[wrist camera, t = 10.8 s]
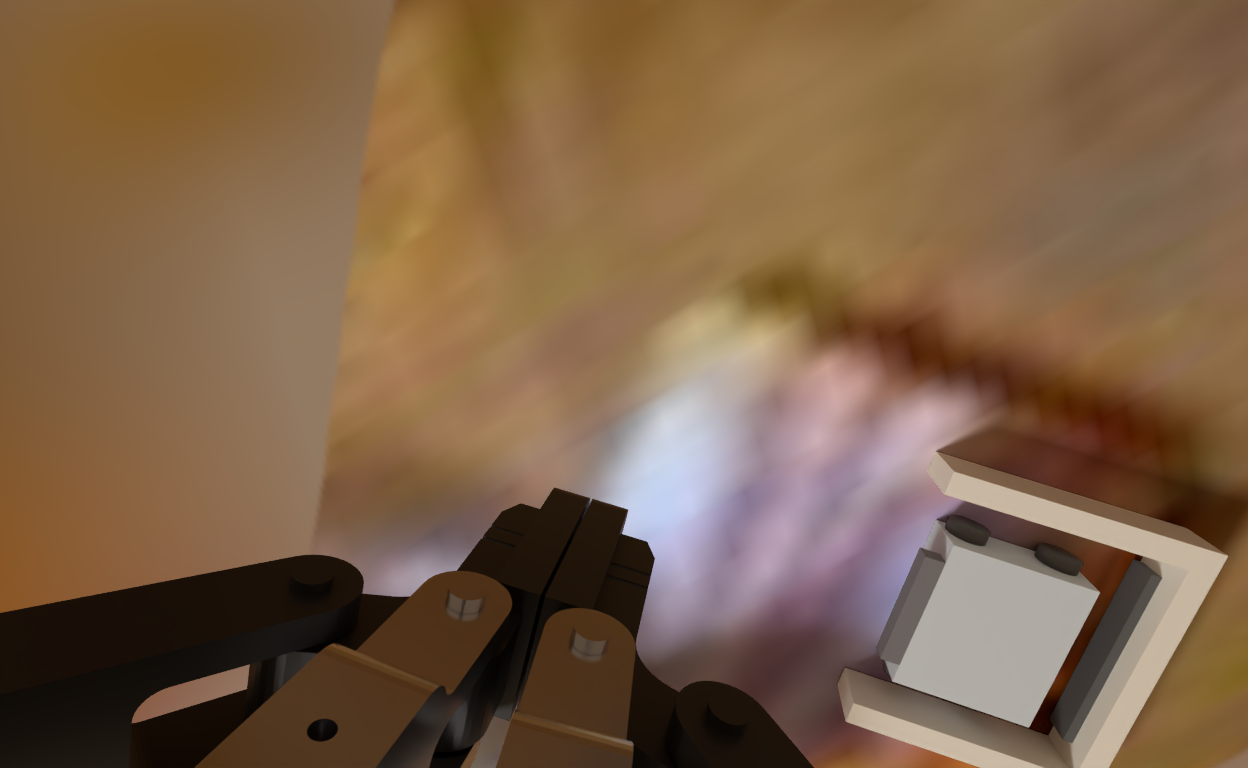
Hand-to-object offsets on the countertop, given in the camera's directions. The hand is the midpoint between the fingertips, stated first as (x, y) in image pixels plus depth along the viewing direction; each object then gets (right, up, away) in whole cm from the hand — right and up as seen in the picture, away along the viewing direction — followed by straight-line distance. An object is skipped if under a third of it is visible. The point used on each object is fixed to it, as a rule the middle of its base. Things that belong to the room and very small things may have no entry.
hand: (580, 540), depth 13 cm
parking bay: (+21, -9, +23) cm, 33 cm away
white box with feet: (+19, -9, +24) cm, 32 cm away
